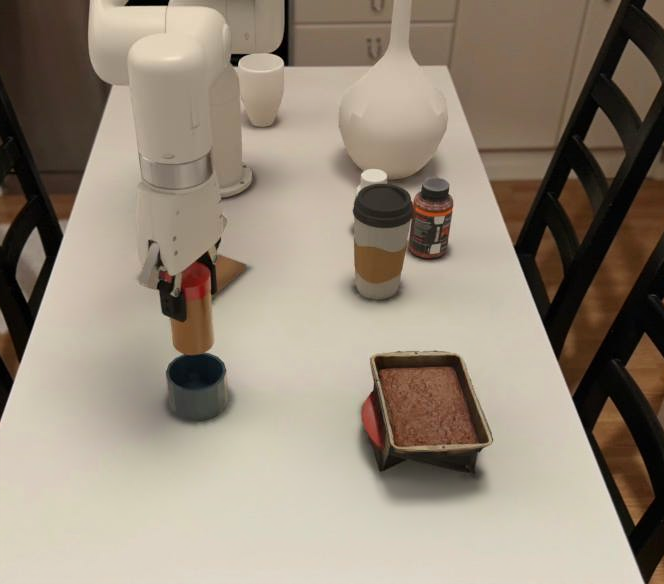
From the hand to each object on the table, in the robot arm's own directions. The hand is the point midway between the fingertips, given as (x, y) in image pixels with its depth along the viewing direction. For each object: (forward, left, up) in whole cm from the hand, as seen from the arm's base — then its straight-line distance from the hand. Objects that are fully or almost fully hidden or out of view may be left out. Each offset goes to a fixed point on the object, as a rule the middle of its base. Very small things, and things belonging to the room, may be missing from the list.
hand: (189, 302), depth 106 cm
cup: (0, 0, -15) cm, 15 cm away
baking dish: (+27, +8, -16) cm, 32 cm away
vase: (-7, +66, -16) cm, 68 cm away
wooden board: (-17, +22, -15) cm, 32 cm away
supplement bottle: (+10, +46, -16) cm, 50 cm away
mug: (-36, +70, -16) cm, 80 cm away
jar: (0, 0, -6) cm, 6 cm away
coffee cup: (+8, +33, -16) cm, 38 cm away
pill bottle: (0, +46, -16) cm, 49 cm away
